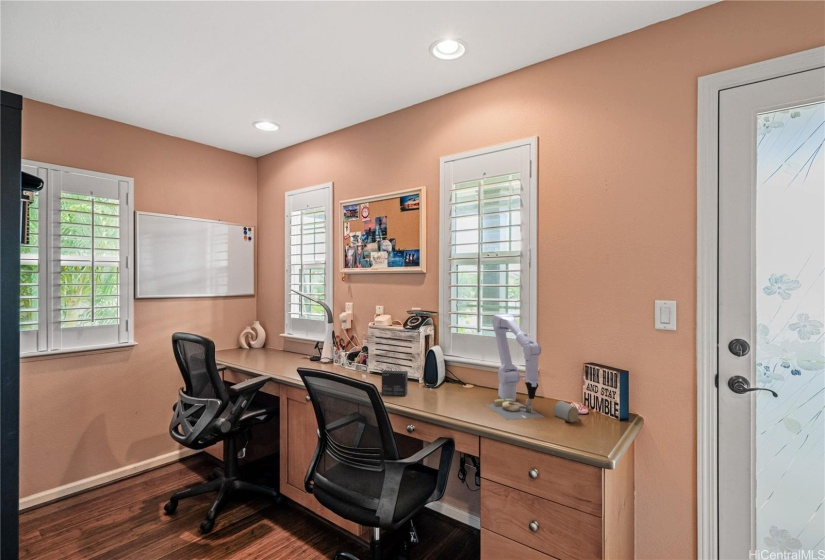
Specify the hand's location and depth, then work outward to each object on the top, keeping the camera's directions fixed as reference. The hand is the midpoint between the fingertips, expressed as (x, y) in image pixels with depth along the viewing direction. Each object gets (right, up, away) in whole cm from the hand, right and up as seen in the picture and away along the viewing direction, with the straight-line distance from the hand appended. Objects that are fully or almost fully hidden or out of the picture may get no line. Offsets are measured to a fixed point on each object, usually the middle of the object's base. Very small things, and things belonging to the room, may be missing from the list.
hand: (531, 398), depth 186 cm
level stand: (-9, -6, -2) cm, 11 cm away
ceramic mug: (+13, -7, -9) cm, 18 cm away
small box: (-65, -6, +27) cm, 70 cm away
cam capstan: (-7, -4, -2) cm, 9 cm away
